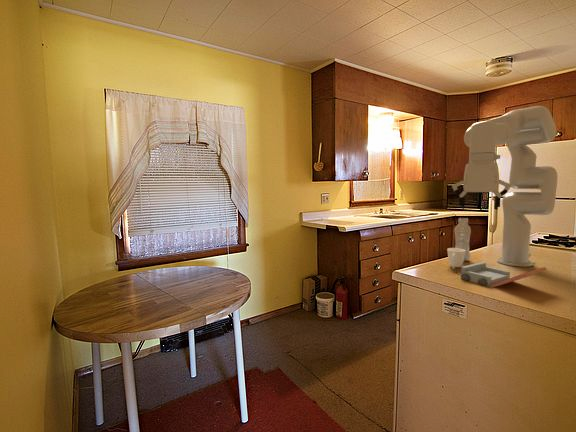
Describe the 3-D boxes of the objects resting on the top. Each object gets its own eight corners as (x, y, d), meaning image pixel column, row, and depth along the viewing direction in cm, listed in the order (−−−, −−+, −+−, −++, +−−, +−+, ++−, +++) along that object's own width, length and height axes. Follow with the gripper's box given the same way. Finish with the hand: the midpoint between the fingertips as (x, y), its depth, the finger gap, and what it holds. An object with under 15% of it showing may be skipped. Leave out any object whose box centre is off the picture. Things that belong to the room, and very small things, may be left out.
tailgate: (512, 281, 108) (510, 279, 108) (547, 269, 98) (545, 266, 99) (493, 287, 102) (491, 284, 103) (528, 275, 93) (526, 272, 93)
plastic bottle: (470, 263, 133) (472, 219, 131) (452, 262, 137) (454, 218, 134) (470, 260, 138) (472, 217, 136) (453, 258, 142) (455, 217, 140)
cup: (466, 267, 127) (467, 249, 126) (461, 273, 120) (462, 253, 119) (448, 265, 132) (449, 247, 131) (442, 270, 124) (443, 251, 124)
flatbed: (482, 274, 118) (483, 261, 118) (513, 281, 109) (513, 268, 108) (459, 280, 111) (460, 267, 111) (489, 288, 102) (490, 274, 101)
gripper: (511, 158, 101) (508, 208, 103) (453, 161, 110) (451, 207, 111) (514, 156, 95) (511, 210, 96) (452, 159, 103) (450, 209, 105)
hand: (479, 208), depth 104 cm, fingers open, 9 cm apart
